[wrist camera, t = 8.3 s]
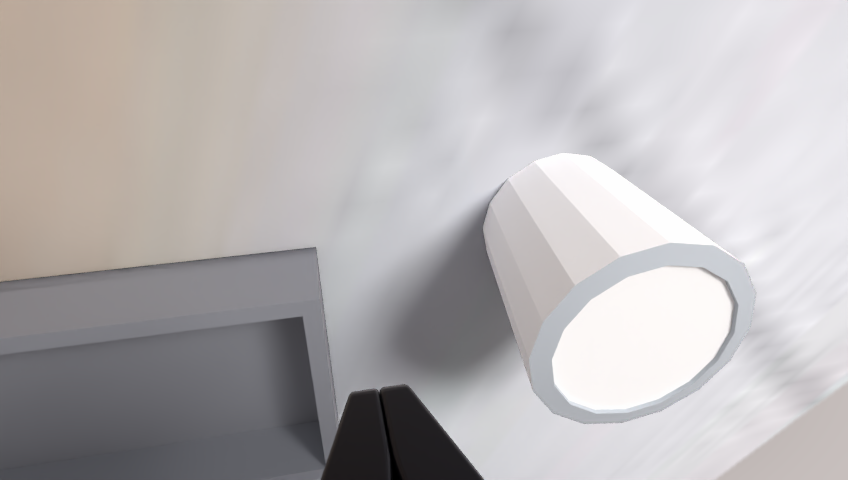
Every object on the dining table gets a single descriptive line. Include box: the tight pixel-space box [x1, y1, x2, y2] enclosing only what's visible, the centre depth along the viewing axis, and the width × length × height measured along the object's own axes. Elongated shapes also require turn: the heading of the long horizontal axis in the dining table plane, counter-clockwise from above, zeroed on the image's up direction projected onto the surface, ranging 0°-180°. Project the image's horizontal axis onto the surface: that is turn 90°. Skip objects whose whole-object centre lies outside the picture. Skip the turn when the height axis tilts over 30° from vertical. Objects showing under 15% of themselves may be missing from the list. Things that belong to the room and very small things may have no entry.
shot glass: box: [483, 153, 756, 424], centre depth 20 cm, size 7×7×7 cm
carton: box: [0, 247, 339, 480], centre depth 21 cm, size 9×20×3 cm, turn 90°
